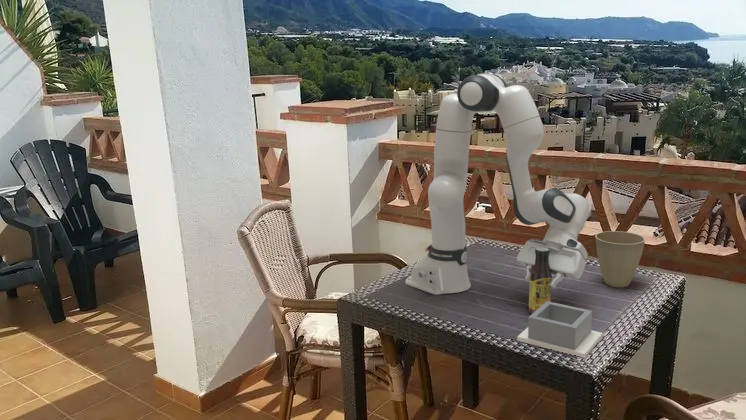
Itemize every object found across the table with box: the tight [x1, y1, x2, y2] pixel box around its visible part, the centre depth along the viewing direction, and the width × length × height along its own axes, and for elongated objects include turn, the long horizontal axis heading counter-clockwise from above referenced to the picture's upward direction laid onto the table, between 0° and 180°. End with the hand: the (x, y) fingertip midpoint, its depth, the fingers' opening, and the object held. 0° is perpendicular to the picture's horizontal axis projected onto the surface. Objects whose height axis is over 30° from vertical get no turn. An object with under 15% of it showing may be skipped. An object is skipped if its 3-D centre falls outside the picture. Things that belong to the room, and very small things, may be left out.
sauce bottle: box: [528, 247, 553, 315], centre depth 171 cm, size 6×6×20 cm
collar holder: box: [516, 301, 604, 359], centre depth 156 cm, size 18×14×7 cm
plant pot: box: [594, 230, 646, 288], centre depth 191 cm, size 15×15×16 cm
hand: (539, 283), depth 171 cm, fingers closed on sauce bottle, 6 cm apart
